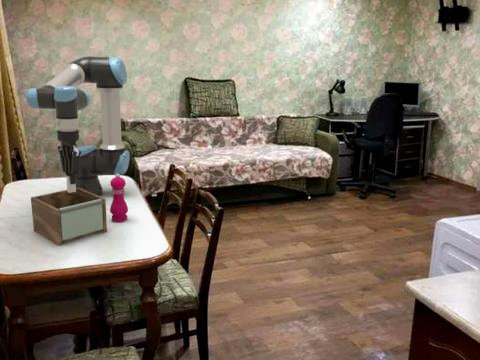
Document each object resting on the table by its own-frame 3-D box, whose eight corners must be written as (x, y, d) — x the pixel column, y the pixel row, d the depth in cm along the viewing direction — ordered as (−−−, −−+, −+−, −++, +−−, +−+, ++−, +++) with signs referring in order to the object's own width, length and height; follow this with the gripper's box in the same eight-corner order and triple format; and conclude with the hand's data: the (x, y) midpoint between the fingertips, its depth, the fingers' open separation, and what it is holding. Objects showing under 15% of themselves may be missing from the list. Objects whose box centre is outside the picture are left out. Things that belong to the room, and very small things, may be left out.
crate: (80, 218, 204) (78, 187, 201) (107, 231, 191) (105, 198, 188) (33, 230, 190) (30, 197, 187) (58, 245, 177) (56, 210, 174)
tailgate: (101, 228, 191) (100, 198, 187) (104, 229, 190) (102, 200, 186) (61, 239, 179) (58, 208, 175) (63, 241, 178) (61, 209, 174)
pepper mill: (107, 219, 204) (104, 173, 199) (121, 215, 209) (120, 170, 204) (116, 224, 200) (115, 177, 194) (131, 219, 205) (130, 173, 199)
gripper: (49, 128, 179) (53, 189, 185) (67, 133, 171) (71, 197, 177) (68, 126, 184) (72, 186, 191) (86, 131, 176) (89, 193, 182)
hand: (71, 191), depth 184 cm, fingers closed
